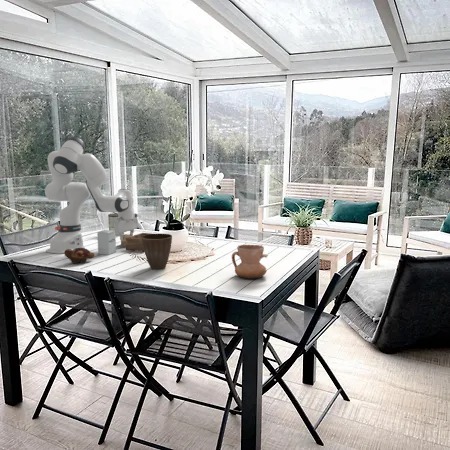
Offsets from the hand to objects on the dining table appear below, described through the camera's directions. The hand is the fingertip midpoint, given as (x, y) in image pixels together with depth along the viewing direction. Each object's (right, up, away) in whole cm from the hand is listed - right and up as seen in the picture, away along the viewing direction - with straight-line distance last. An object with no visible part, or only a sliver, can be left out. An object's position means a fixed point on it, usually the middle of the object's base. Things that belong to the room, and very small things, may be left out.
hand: (126, 238), depth 273 cm
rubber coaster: (0, -5, +1) cm, 5 cm away
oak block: (0, -4, +1) cm, 4 cm away
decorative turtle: (-16, -12, -39) cm, 43 cm away
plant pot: (+26, -13, -49) cm, 57 cm away
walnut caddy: (+12, -5, -4) cm, 13 cm away
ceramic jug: (+71, -16, -64) cm, 97 cm away
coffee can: (-15, +1, +37) cm, 40 cm away
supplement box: (-7, -8, -18) cm, 21 cm away
